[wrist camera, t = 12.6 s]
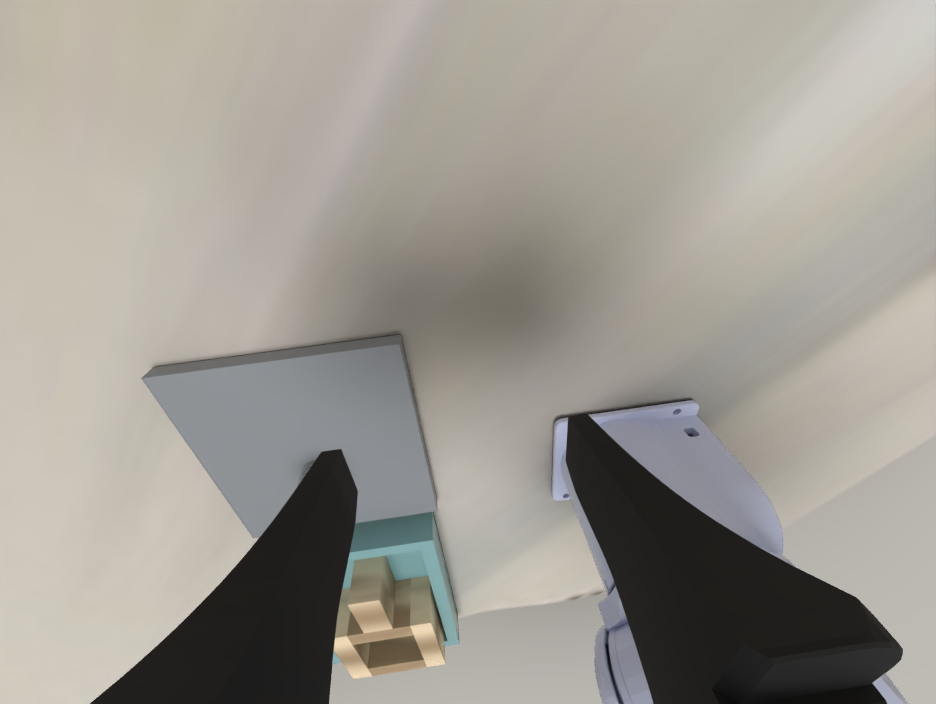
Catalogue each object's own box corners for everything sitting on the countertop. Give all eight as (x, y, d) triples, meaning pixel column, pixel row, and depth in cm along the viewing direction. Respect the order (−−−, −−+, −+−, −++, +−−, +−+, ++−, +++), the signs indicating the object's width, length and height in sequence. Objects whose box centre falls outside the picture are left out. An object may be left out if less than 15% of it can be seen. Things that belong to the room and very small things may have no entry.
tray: (432, 508, 28) (433, 540, 26) (457, 614, 37) (459, 644, 35) (270, 532, 28) (258, 566, 26) (336, 632, 37) (330, 664, 35)
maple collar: (443, 619, 36) (445, 664, 33) (359, 632, 36) (353, 678, 33) (420, 545, 29) (420, 593, 26) (317, 561, 29) (305, 611, 26)
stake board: (437, 499, 28) (439, 574, 23) (258, 525, 27) (225, 607, 23) (400, 334, 20) (393, 398, 16) (153, 367, 20) (72, 442, 15)
